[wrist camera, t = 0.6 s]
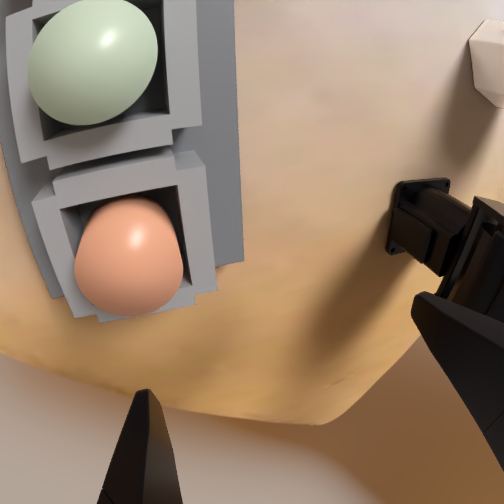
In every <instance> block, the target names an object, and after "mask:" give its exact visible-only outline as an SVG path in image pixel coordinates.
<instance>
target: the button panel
mask: <svg viewBox="0 0 504 504" xmlns="http://www.w3.org/2000/svg"><path fill="white" fill-rule="evenodd" d="M78 1H81V0H0V138H1V143H2V148H3V153H4V158H5V162H6V166H7V171H8V175H9V179H10V182H11V186H12V190H13V194H14V197H15V201H16V204H17V207H18V211H19V214H20V217H21V220H22V223H23V226H24V229H25V232H26V235H27V238H28V241H29V243H30V246H31V249H32V252H33V254H34V257H35V259H36V262H37V264H38V267H39V269H40V272H41V274H42V277H43V279H44V281H45V284H46V286H47V288H48V291H49V293H50V295H51V297H52V299H53V298H58V297H63V296H65V297H66V300H67V302H68V304H69V306H70V309H71V311H72V313H73V315H74V317H75V318H79V317H85V316H90V315H97V318H98V320H99V322H100V323H103V322H109V321H114V320H120V319H125V318H131V317H136V316H119V315H114V314H111V313H108V312H105V311H103V310H101V309H99V308H98V307H96V306H95V305H93V304H92V303H91V302H90V301H89V300H88V299H87V298H86V297H85V296H84V295H83V293H82V292H81V290H80V289H79V286H78V284H77V281H76V278H75V272H74V264H75V258H76V255H77V251H78V248H79V244H80V241H81V238H82V234H83V231H84V228H85V225H86V222H87V219H88V217H89V215H90V214H91V212H92V211H93V210H94V208H95V207H96V206H97V205H98V204H100V203H101V202H102V201H104V200H106V199H107V198H110V197H115V196H120V195H125V194H130V193H135V194H141V195H145V196H147V197H150V198H152V199H153V200H155V201H157V202H158V203H159V204H161V205H162V206H163V207H164V208H165V210H166V211H167V212H168V214H169V215H170V217H171V219H172V222H173V225H174V229H175V233H176V238H177V242H178V246H179V250H180V254H181V258H182V263H183V277H182V281H181V284H180V287H179V289H178V290H177V292H176V294H175V295H174V296H173V298H172V299H171V300H170V301H169V302H168V303H166V304H165V305H164V306H162V307H161V308H159V309H157V310H155V311H153V312H151V313H156V312H161V311H166V310H171V309H176V308H181V307H186V306H191V305H196V303H195V297H194V295H198V294H203V293H208V292H213V291H217V290H218V288H217V279H216V270H215V267H217V266H222V265H227V264H232V263H236V262H241V261H244V245H243V224H242V203H241V180H240V157H239V134H238V109H237V84H236V57H235V28H234V0H124V1H127V2H129V3H131V4H132V5H134V6H136V7H137V8H138V9H140V10H141V11H142V12H143V13H144V14H145V15H146V17H147V18H148V19H149V21H150V22H151V24H152V26H153V29H154V31H155V34H156V38H157V45H158V56H157V62H156V66H155V70H154V73H153V75H152V78H151V80H150V82H149V84H148V86H147V87H146V89H145V90H144V92H143V93H142V94H141V96H140V97H139V98H138V99H137V100H136V101H135V102H134V103H133V104H132V105H131V106H130V107H129V108H127V109H126V110H125V111H123V112H122V113H120V114H119V115H117V116H115V117H113V118H111V119H109V120H106V121H104V122H100V123H97V124H91V125H71V124H67V123H63V122H60V121H58V120H56V119H54V118H52V117H50V116H49V115H48V114H46V113H45V112H44V111H43V110H42V109H41V108H40V107H39V106H38V104H37V103H36V101H35V100H34V98H33V96H32V94H31V91H30V88H29V84H28V78H27V66H28V59H29V55H30V51H31V49H32V46H33V43H34V42H35V40H36V38H37V36H38V34H39V33H40V31H41V30H42V28H43V27H44V26H45V25H46V24H47V22H48V21H49V20H50V19H52V18H53V17H54V16H55V15H56V14H57V13H59V12H60V11H61V10H63V9H64V8H66V7H68V6H70V5H72V4H74V3H76V2H78ZM151 313H148V314H151ZM144 315H146V314H144ZM139 316H141V315H139Z"/></svg>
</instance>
